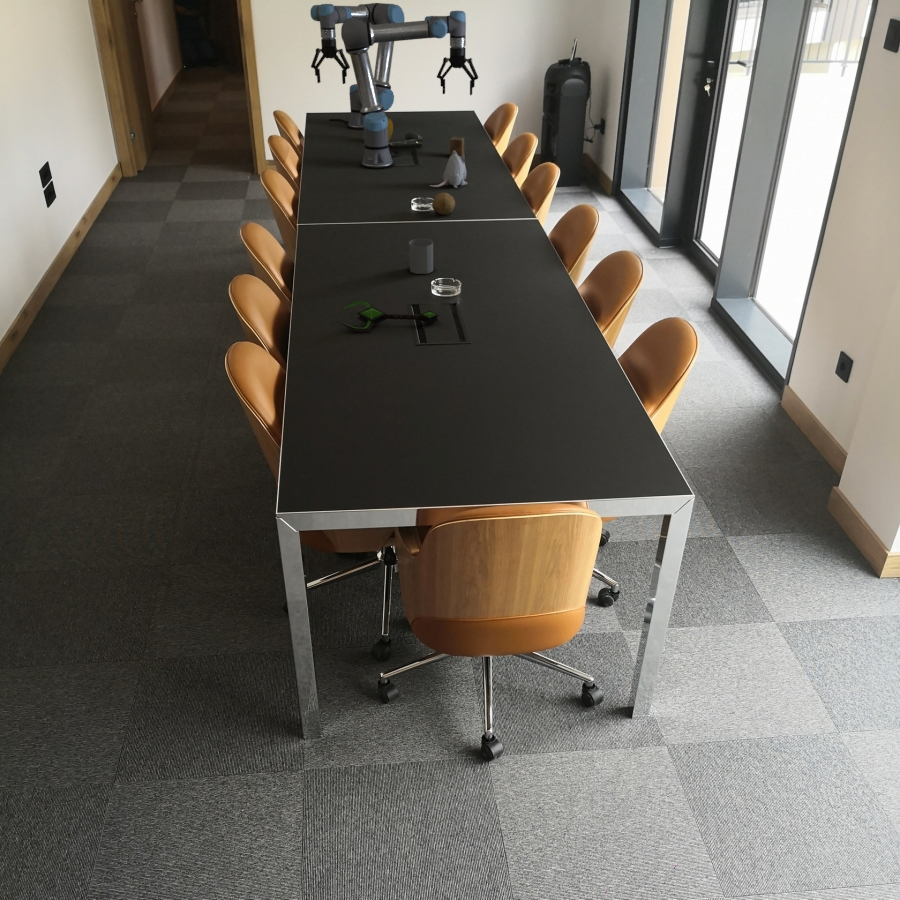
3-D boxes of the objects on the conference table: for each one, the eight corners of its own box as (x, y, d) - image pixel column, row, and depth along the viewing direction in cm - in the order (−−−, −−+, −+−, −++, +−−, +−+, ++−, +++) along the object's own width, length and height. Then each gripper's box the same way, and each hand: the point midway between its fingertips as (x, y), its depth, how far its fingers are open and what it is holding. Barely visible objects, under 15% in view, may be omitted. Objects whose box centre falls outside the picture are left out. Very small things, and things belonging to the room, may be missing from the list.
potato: (453, 208, 369) (453, 189, 365) (456, 218, 357) (456, 199, 353) (431, 208, 368) (430, 189, 364) (432, 218, 356) (432, 199, 352)
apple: (392, 144, 462) (391, 119, 455) (372, 144, 462) (371, 119, 455) (394, 139, 471) (393, 115, 464) (374, 139, 471) (373, 115, 464)
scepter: (438, 296, 270) (341, 293, 268) (439, 326, 263) (340, 324, 261) (437, 309, 275) (342, 306, 273) (438, 339, 268) (341, 337, 266)
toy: (472, 184, 399) (472, 151, 391) (436, 195, 384) (436, 161, 376) (457, 180, 404) (458, 147, 396) (422, 191, 389) (421, 157, 381)
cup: (409, 265, 311) (408, 238, 306) (432, 265, 312) (431, 238, 307) (410, 274, 304) (409, 246, 299) (433, 273, 305) (433, 246, 299)
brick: (450, 157, 440) (450, 139, 435) (452, 154, 446) (452, 136, 441) (461, 158, 439) (462, 140, 434) (464, 155, 445) (464, 137, 440)
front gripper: (430, 47, 414) (431, 94, 425) (482, 48, 410) (481, 96, 421) (433, 45, 420) (434, 91, 431) (484, 46, 416) (483, 93, 427)
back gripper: (302, 38, 438) (306, 83, 450) (350, 40, 434) (352, 85, 446) (307, 36, 445) (311, 80, 456) (354, 38, 440) (356, 82, 452)
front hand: (457, 94), depth 426 cm, fingers open, 13 cm apart
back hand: (331, 83), depth 451 cm, fingers open, 13 cm apart
